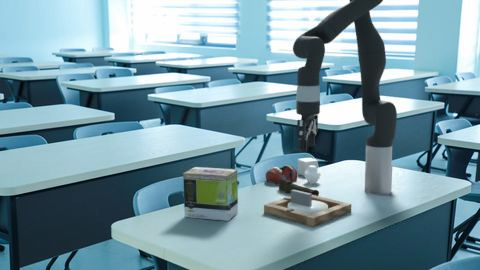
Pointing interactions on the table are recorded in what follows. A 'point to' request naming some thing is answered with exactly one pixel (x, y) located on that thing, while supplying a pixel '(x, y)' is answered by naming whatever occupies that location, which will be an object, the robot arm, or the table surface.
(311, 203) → the dial
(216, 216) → the tea box
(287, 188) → the hand tool
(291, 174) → the teeth model
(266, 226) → the table surface
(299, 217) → the wooden frame
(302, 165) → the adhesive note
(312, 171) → the white fluted cup
